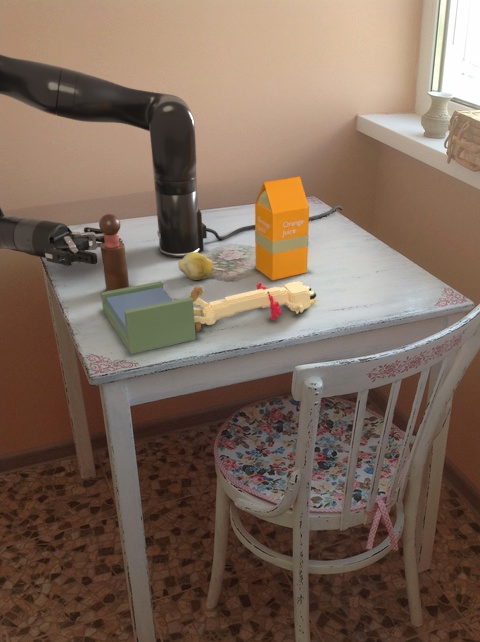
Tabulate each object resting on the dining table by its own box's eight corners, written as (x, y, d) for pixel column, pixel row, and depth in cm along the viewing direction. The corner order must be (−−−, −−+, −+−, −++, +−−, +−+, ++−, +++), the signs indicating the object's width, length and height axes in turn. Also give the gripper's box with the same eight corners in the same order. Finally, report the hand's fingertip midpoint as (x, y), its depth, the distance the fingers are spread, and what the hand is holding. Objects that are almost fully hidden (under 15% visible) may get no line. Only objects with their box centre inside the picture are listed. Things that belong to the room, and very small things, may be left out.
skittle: (126, 285, 145) (116, 209, 137) (132, 293, 142) (123, 216, 133) (104, 289, 144) (93, 212, 135) (110, 298, 140) (99, 220, 131)
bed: (162, 299, 140) (159, 262, 136) (195, 339, 126) (193, 299, 122) (103, 311, 135) (97, 272, 131) (131, 354, 122) (125, 313, 117)
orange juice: (307, 272, 152) (310, 180, 141) (272, 280, 148) (272, 187, 137) (289, 260, 158) (290, 171, 147) (254, 267, 154) (253, 176, 143)
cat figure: (200, 343, 128) (326, 312, 134) (194, 300, 123) (324, 271, 129) (187, 319, 135) (306, 291, 142) (180, 278, 130) (304, 251, 137)
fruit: (228, 280, 148) (182, 281, 144) (218, 277, 153) (174, 278, 149) (228, 252, 147) (182, 252, 143) (218, 251, 152) (174, 251, 148)
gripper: (15, 232, 136) (84, 245, 131) (62, 210, 147) (127, 221, 142) (23, 268, 140) (90, 282, 135) (68, 244, 151) (131, 256, 146)
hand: (109, 251), depth 138 cm, fingers open, 8 cm apart
